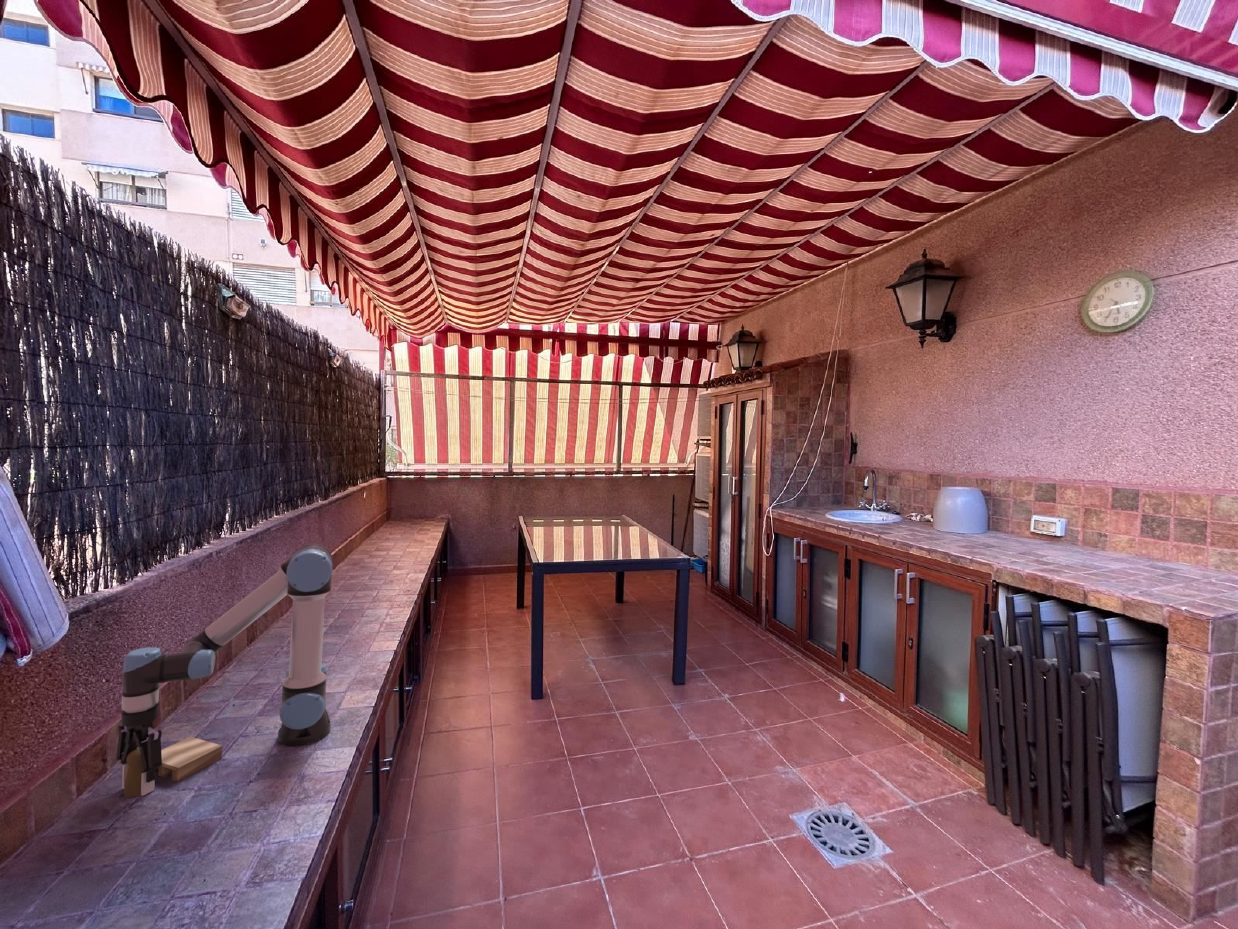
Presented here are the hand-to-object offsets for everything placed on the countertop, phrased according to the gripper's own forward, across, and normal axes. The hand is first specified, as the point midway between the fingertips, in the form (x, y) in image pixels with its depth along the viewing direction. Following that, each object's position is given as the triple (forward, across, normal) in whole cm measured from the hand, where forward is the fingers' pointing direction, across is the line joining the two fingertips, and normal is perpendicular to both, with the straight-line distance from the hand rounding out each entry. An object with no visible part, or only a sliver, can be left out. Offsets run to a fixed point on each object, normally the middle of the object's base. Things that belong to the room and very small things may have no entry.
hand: (138, 789), depth 141 cm
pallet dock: (0, +1, -12) cm, 12 cm away
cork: (0, 0, 0) cm, 0 cm away
